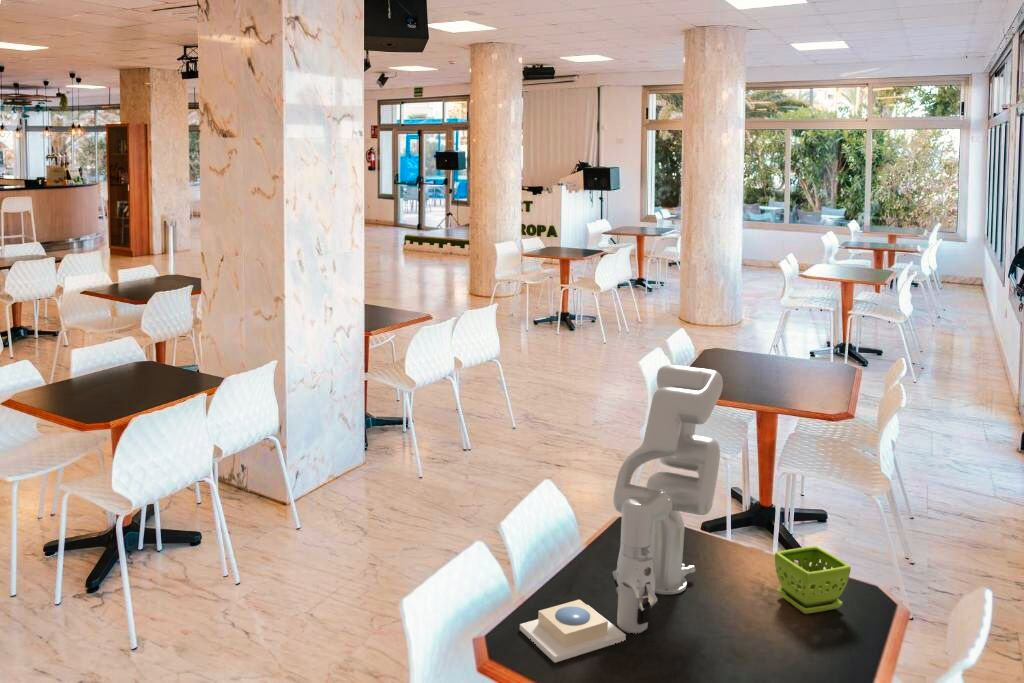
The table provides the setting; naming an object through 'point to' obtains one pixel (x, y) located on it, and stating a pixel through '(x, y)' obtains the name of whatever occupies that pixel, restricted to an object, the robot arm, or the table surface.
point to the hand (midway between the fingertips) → (632, 614)
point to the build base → (572, 650)
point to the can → (629, 611)
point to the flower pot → (811, 578)
